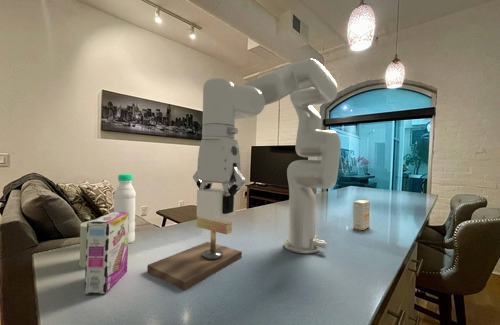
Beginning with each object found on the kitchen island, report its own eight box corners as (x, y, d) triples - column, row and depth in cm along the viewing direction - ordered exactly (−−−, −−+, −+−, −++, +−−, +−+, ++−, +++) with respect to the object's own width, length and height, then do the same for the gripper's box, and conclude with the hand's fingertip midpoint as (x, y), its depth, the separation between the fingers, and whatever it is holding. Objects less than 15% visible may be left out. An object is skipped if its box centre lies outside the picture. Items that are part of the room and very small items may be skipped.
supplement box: (359, 225, 115) (360, 199, 115) (369, 228, 111) (370, 200, 111) (352, 228, 109) (353, 201, 109) (362, 231, 106) (363, 202, 106)
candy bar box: (107, 295, 52) (108, 222, 52) (83, 295, 51) (85, 222, 51) (128, 271, 63) (130, 211, 63) (109, 271, 63) (110, 211, 63)
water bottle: (125, 246, 81) (127, 175, 81) (108, 244, 83) (109, 174, 82) (139, 239, 88) (140, 174, 88) (123, 238, 89) (124, 173, 89)
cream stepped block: (244, 212, 58) (244, 188, 58) (216, 220, 50) (216, 192, 50) (225, 208, 62) (226, 186, 62) (196, 216, 53) (197, 190, 53)
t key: (191, 254, 70) (192, 218, 70) (205, 248, 75) (206, 214, 75) (221, 264, 64) (222, 225, 64) (234, 257, 69) (235, 220, 69)
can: (93, 270, 63) (94, 226, 63) (71, 264, 66) (72, 223, 66) (122, 257, 72) (123, 219, 72) (101, 253, 75) (102, 216, 75)
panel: (241, 257, 73) (241, 251, 73) (184, 290, 54) (184, 282, 54) (207, 247, 82) (207, 241, 82) (147, 272, 63) (147, 265, 63)
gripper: (258, 134, 53) (256, 213, 53) (203, 137, 62) (202, 204, 62) (238, 130, 46) (236, 219, 46) (181, 134, 56) (179, 208, 56)
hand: (216, 210), depth 54 cm, fingers closed on cream stepped block, 6 cm apart
